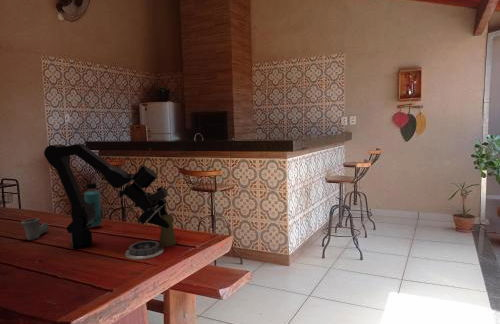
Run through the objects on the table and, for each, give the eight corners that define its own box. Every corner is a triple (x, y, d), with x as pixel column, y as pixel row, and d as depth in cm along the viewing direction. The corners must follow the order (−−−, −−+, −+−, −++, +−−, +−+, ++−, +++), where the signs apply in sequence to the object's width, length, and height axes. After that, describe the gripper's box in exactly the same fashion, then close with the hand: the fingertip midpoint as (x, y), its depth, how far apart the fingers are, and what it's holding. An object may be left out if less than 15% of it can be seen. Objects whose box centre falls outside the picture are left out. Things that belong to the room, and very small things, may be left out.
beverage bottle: (86, 227, 168) (82, 182, 166) (102, 225, 171) (98, 181, 168) (86, 230, 162) (82, 185, 160) (103, 228, 165) (99, 183, 162)
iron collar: (131, 262, 123) (130, 254, 123) (121, 251, 134) (120, 244, 134) (169, 253, 130) (168, 246, 130) (156, 244, 141) (156, 237, 141)
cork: (156, 245, 140) (154, 216, 138) (167, 240, 145) (165, 212, 144) (169, 247, 137) (167, 217, 136) (179, 242, 142) (177, 213, 141)
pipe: (52, 232, 161) (50, 214, 161) (33, 242, 149) (31, 222, 148) (39, 232, 162) (37, 214, 161) (18, 242, 149) (16, 222, 148)
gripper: (145, 185, 129) (179, 216, 130) (160, 177, 148) (189, 204, 148) (124, 208, 130) (158, 239, 131) (142, 197, 149) (171, 224, 150)
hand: (170, 225), depth 140 cm, fingers closed on cork, 5 cm apart
